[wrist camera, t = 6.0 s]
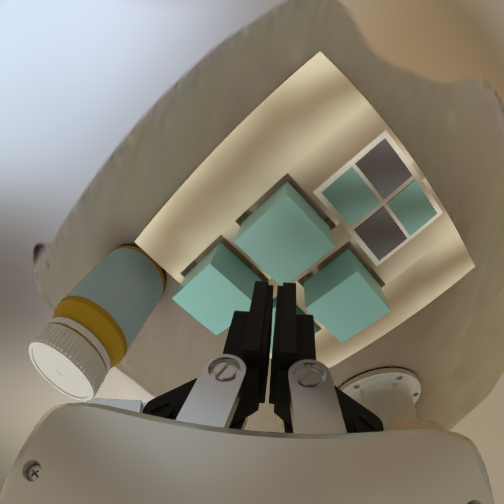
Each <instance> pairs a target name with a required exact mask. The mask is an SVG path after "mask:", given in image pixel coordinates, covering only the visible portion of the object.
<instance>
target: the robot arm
mask: <svg viewBox="0 0 504 504" xmlns="http://www.w3.org/2000/svg"><path fill="white" fill-rule="evenodd" d="M273 288H274V285H269V281H255V285H254V290H253V295H252V300H251V305H250V310H249V311H234V313H233V317H232V321H231V325H230V329H229V332H228V336H227V340H226V344H225V347H224V351H223V354H221V355H217V356H214V357H212V358H211V359H209V360H208V361H207V362H206V364H205V365H204V367H203V369H202V371H201V373H200V375H199V377H198V378H196V379H194V380H192V381H190V382H188V383H186V384H184V385H182V386H180V387H177V388H175V389H173V390H171V391H169V392H167V393H165V394H163V395H161V396H158V397H156V398H154V399H152V400H151V401H149V402H148V403H142V401H141V400H118V399H101V398H100V399H99V398H95V399H90V400H88V401H86V402H85V403H66V404H61V405H57V406H55V407H53V408H51V409H50V410H49V411H47V412H46V413H45V414H44V415H43V416H42V418H41V419H40V420H39V422H38V423H37V424H36V426H35V427H34V429H33V430H32V432H31V433H30V435H29V436H28V438H27V440H26V442H25V443H24V445H23V447H22V449H21V450H20V452H19V454H18V456H17V458H16V460H15V462H14V464H13V467H12V469H11V471H10V473H9V475H8V477H7V480H6V482H5V484H4V486H3V489H2V491H1V494H0V504H494V500H493V494H492V490H491V485H490V481H489V478H488V474H487V470H486V467H485V464H484V462H483V459H482V457H481V454H480V452H479V450H478V449H477V447H476V446H475V444H474V443H473V442H472V441H471V440H470V439H469V438H467V437H466V436H463V435H461V434H458V433H455V432H451V431H446V430H445V429H444V428H443V427H442V426H441V425H439V424H438V423H434V422H422V421H418V417H417V413H416V409H415V406H414V405H415V403H416V402H417V400H418V399H419V397H420V394H421V385H420V382H419V379H418V377H417V376H416V375H415V374H414V373H412V372H411V371H408V370H405V369H401V368H383V369H377V370H373V371H369V372H366V373H363V374H361V375H358V376H356V377H354V378H353V379H351V380H349V381H348V382H346V383H345V384H343V385H342V386H341V387H340V388H339V389H338V388H337V387H336V386H334V384H333V380H332V377H331V373H330V371H329V369H328V367H327V366H326V365H324V364H323V363H321V362H319V361H316V347H315V331H314V317H313V315H306V314H296V283H289V282H283V286H279V285H278V288H277V300H276V312H275V323H274V335H273V345H272V359H271V377H270V394H269V404H275V405H274V413H275V414H276V415H278V416H279V417H280V418H281V419H282V429H283V433H277V432H262V431H250V430H244V429H245V426H246V423H247V419H248V416H249V415H251V414H253V413H254V412H256V411H257V410H258V408H259V403H265V394H266V385H267V376H268V367H269V357H270V347H271V336H272V313H273Z"/></svg>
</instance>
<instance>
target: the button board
mask: <svg viewBox="0 0 504 504" xmlns="http://www.w3.org/2000/svg"><path fill="white" fill-rule="evenodd" d="M287 181H288V182H289V184H290V185H291V186H292V187H293V188H294V189H295V190H296V191H297V192H298V193H299V194H300V195H301V196H302V197H303V198H304V199H305V200H306V201H307V203H308V204H309V205H310V206H311V207H312V208H313V209H314V210H315V211H316V212H317V213H318V214H319V216H320V217H321V218H322V219H323V220H324V221H325V222H326V223H327V224H328V225H329V227H330V230H331V233H332V237H333V240H334V244H335V247H334V248H333V249H332V250H330V251H329V252H328V253H327V254H325V255H324V256H323V257H322V258H320V259H319V260H318V261H316V262H315V263H314V264H313V265H311V266H310V267H309V268H307V269H306V270H305V271H303V272H302V273H301V274H299V275H298V276H297V277H296V278H294V279H293V280H292V281H290V282H289V283H296V305H297V306H298V307H299V308H300V309H301V310H303V311H304V312H305V313H306V314H307V315H311V314H310V313H309V312H308V311H307V310H306V309H305V296H304V282H306V281H307V280H308V279H310V278H311V277H312V276H314V275H315V274H316V273H318V272H319V271H320V270H322V269H323V268H324V267H325V266H327V265H328V264H329V263H331V262H332V261H333V260H335V259H336V258H337V257H338V256H340V255H341V254H342V253H344V252H345V251H346V250H347V249H350V250H351V252H352V253H353V254H354V255H355V256H356V257H357V258H358V260H359V261H360V262H361V263H362V264H363V266H364V267H365V268H366V269H367V270H368V272H369V273H370V274H371V275H372V276H373V278H374V279H375V280H376V281H377V282H378V284H379V285H380V286H381V289H382V291H383V293H384V296H385V298H386V301H387V303H388V306H389V308H390V312H388V313H387V314H385V315H384V316H382V317H381V318H380V319H378V320H377V321H375V322H374V323H372V324H371V325H369V326H368V327H366V328H365V329H363V330H362V331H360V332H358V333H357V334H355V335H354V336H352V337H351V338H349V339H347V340H346V341H344V342H343V343H341V342H340V341H339V340H338V339H337V338H336V337H335V336H334V335H333V334H332V333H331V332H329V331H328V330H327V329H326V328H325V327H324V326H323V325H322V324H321V323H320V322H319V321H318V320H317V319H316V318H314V322H315V323H316V334H315V347H316V361H319V362H321V363H323V364H324V365H326V366H327V367H328V368H330V367H332V366H334V365H335V364H337V363H339V362H341V361H342V360H344V359H346V358H347V357H349V356H351V355H352V354H354V353H356V352H357V351H359V350H361V349H362V348H364V347H366V346H367V345H369V344H370V343H372V342H374V341H375V340H377V339H378V338H380V337H381V336H383V335H384V334H386V333H387V332H389V331H390V330H392V329H393V328H395V327H396V326H398V325H399V324H401V323H402V322H404V321H405V320H407V319H408V318H409V317H411V316H412V315H414V314H415V313H416V312H418V311H419V310H421V309H422V308H423V307H425V306H426V305H427V304H429V303H430V302H431V301H433V300H434V299H435V298H437V297H438V296H439V295H441V294H442V293H443V292H444V291H446V290H447V289H448V288H450V287H451V286H452V285H453V284H454V283H456V282H457V281H458V280H459V279H461V278H462V277H463V276H464V275H465V274H467V273H468V272H469V271H470V270H471V269H473V268H474V267H475V265H474V263H473V261H472V259H471V257H470V255H469V253H468V251H467V249H466V247H465V245H464V243H463V241H462V239H461V237H460V235H459V233H458V231H457V230H456V228H455V226H454V224H453V222H452V221H451V219H450V217H449V215H448V214H447V212H446V210H445V208H444V207H443V205H442V203H441V202H440V200H439V198H438V197H437V195H436V193H435V192H434V190H433V189H432V187H431V186H430V184H429V182H428V181H427V179H426V178H425V176H424V175H423V173H422V172H421V170H420V169H419V167H418V166H417V164H416V163H415V162H414V160H413V159H412V157H411V156H410V154H409V153H408V152H407V150H406V149H405V148H404V146H403V145H402V143H401V142H400V141H399V139H398V138H397V137H396V136H395V134H394V133H393V132H392V130H391V129H390V128H389V127H388V125H387V124H386V123H385V121H384V120H383V119H382V118H381V117H380V115H379V114H378V113H377V112H376V111H375V109H374V108H373V107H372V106H371V105H370V103H369V102H368V101H367V100H366V99H365V98H364V97H363V95H362V94H361V93H360V92H359V91H358V90H357V89H356V88H355V86H354V85H353V84H352V83H351V82H350V81H349V80H348V79H347V78H346V77H345V76H344V75H343V74H342V73H341V72H340V71H339V70H338V69H337V68H336V66H335V65H334V64H333V63H332V62H331V61H330V60H328V59H327V58H326V57H325V56H324V55H323V54H322V53H321V52H319V53H317V54H316V55H315V56H314V57H313V58H311V59H310V60H309V61H308V62H307V63H306V64H304V65H303V66H302V67H301V68H300V69H299V70H297V71H296V72H295V73H294V74H293V75H292V76H291V77H289V78H288V79H287V80H286V81H285V82H284V83H283V84H282V85H281V86H279V87H278V88H277V89H276V90H275V91H274V92H273V93H272V94H271V95H270V96H269V97H267V98H266V99H265V100H264V101H263V102H262V103H261V104H260V105H259V106H258V107H257V108H256V109H255V110H254V111H253V112H252V113H251V114H250V115H249V116H248V117H246V118H245V119H244V120H243V121H242V122H241V123H240V124H239V125H238V126H237V127H236V128H235V129H234V130H233V131H232V132H231V133H230V134H229V135H228V136H227V137H226V138H225V139H224V141H223V142H222V143H221V144H220V145H219V146H218V147H217V148H216V149H215V150H214V151H213V152H212V153H211V154H210V155H209V156H208V157H207V158H206V159H205V160H204V162H203V163H202V164H201V165H200V166H199V167H198V168H197V169H196V170H195V171H194V172H193V173H192V175H191V176H190V177H189V178H188V179H187V180H186V181H185V182H184V183H183V185H182V186H181V187H180V188H179V189H178V190H177V191H176V193H175V194H174V195H173V196H172V197H171V198H170V199H169V201H168V202H167V203H166V204H165V205H164V206H163V208H162V209H161V210H160V211H159V212H158V214H157V215H156V216H155V217H154V218H153V220H152V221H151V222H150V223H149V224H148V226H147V227H146V228H145V229H144V231H143V232H142V233H141V234H140V235H139V237H138V238H137V239H136V240H135V243H136V244H137V245H138V246H139V247H140V248H141V249H142V250H144V251H145V252H146V253H147V254H148V255H149V256H150V257H151V258H152V259H153V260H154V261H156V262H157V263H158V264H159V265H160V266H161V267H162V268H163V269H164V270H165V271H167V272H168V273H169V274H170V275H171V276H172V277H173V278H174V279H176V280H177V281H178V282H179V283H180V284H181V282H182V280H183V279H184V277H185V275H186V274H187V273H189V272H190V271H191V270H192V269H193V268H194V267H195V266H196V265H197V264H198V263H199V262H200V261H201V260H202V259H203V258H204V257H205V256H206V255H208V254H209V253H210V252H211V251H212V250H213V249H214V248H215V247H216V246H217V245H218V244H219V243H220V242H221V243H222V244H223V245H224V246H226V247H227V248H228V249H229V250H230V251H231V252H232V253H233V254H234V255H235V256H236V257H237V258H238V259H240V260H241V261H242V262H243V263H244V264H245V265H246V266H247V267H248V268H249V269H250V270H251V271H252V272H254V273H255V274H256V275H257V276H258V277H259V278H260V279H261V280H262V281H269V285H274V288H273V299H274V298H275V297H276V296H277V288H278V285H279V284H278V283H277V282H276V281H275V280H274V279H273V278H272V277H271V276H270V275H269V274H268V273H266V272H265V271H264V270H263V269H262V268H261V267H260V266H259V265H258V264H257V263H256V262H255V261H254V260H253V259H252V258H251V257H249V256H248V255H247V254H246V253H245V252H244V251H243V250H242V249H241V248H240V247H239V246H238V245H237V244H236V243H235V242H234V240H235V238H236V235H237V233H238V231H239V228H240V226H241V224H242V222H243V221H244V220H245V219H246V218H247V217H248V216H249V215H251V214H252V213H253V212H254V211H255V210H256V209H257V208H258V207H259V206H260V205H261V204H263V203H264V202H265V201H266V200H267V199H268V198H269V197H270V196H271V195H273V194H274V193H275V192H276V191H277V190H278V189H279V188H280V187H281V186H282V185H284V184H285V183H286V182H287ZM279 286H280V285H279ZM270 358H271V359H272V352H271V351H270Z"/></svg>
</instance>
